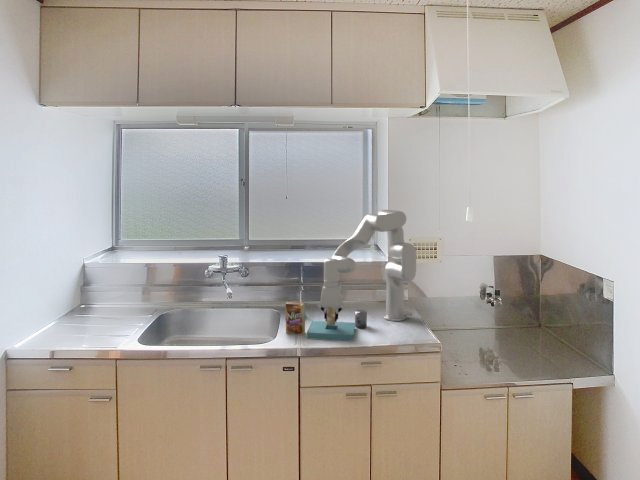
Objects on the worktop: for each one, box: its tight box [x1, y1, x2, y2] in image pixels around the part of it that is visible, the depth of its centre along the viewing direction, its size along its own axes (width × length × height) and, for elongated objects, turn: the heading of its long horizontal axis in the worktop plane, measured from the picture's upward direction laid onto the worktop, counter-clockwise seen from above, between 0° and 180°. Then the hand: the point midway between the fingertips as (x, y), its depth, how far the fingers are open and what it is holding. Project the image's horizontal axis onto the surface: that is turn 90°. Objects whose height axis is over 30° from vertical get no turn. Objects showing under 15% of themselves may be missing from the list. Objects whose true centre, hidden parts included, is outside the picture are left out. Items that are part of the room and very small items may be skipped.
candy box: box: [285, 301, 306, 336], centre depth 187 cm, size 9×4×15 cm, turn 73°
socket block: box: [306, 320, 356, 342], centre depth 187 cm, size 22×16×3 cm
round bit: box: [354, 309, 368, 330], centre depth 196 cm, size 6×6×8 cm
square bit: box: [327, 307, 337, 325], centre depth 186 cm, size 4×4×9 cm
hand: (331, 320), depth 186 cm, fingers closed on square bit, 4 cm apart
